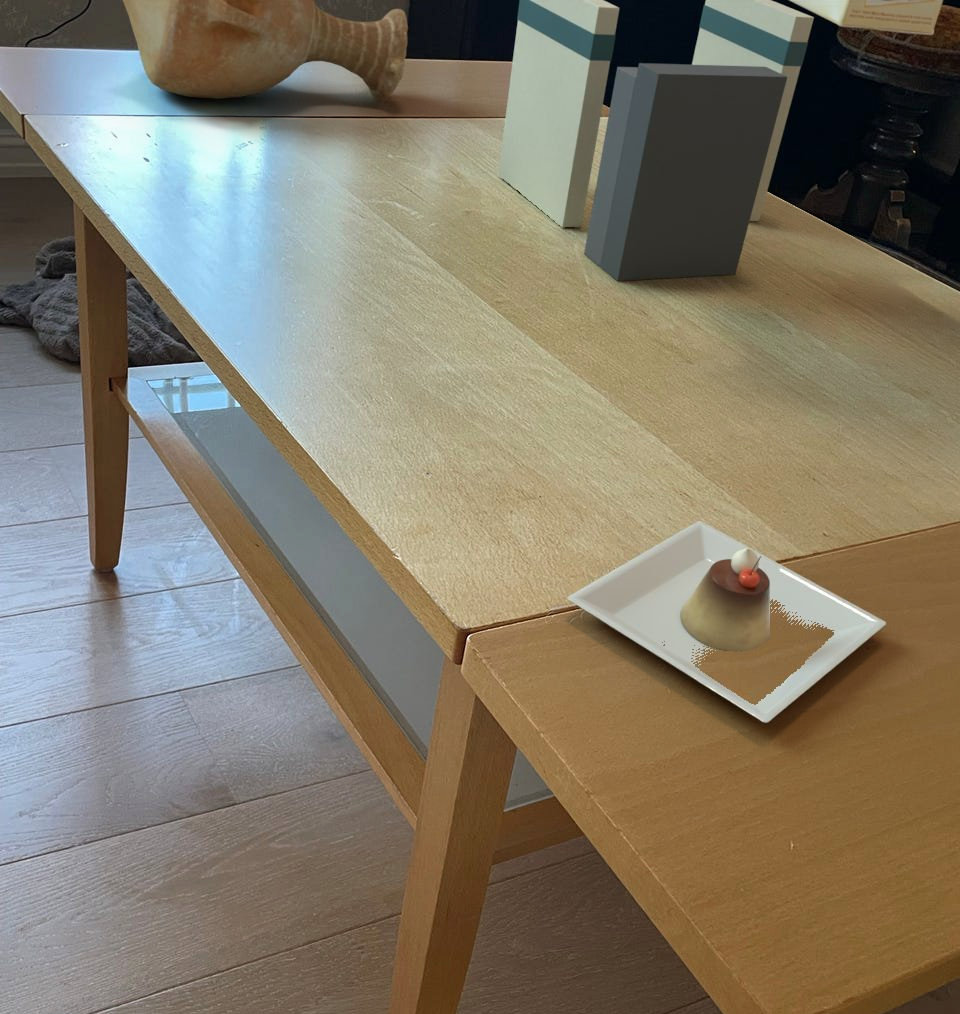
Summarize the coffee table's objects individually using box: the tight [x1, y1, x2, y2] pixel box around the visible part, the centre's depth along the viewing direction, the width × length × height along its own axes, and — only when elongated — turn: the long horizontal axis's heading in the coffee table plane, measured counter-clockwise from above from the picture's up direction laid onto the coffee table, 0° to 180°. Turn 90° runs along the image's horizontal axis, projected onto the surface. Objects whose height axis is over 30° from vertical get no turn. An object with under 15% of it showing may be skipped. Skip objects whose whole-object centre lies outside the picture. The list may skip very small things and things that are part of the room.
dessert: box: [567, 520, 887, 724], centre depth 58 cm, size 12×12×5 cm
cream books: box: [497, 0, 815, 229], centre depth 108 cm, size 22×14×18 cm, turn 114°
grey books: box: [583, 62, 787, 282], centre depth 96 cm, size 12×6×16 cm, turn 114°
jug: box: [122, 0, 409, 103], centre depth 121 cm, size 20×19×30 cm
